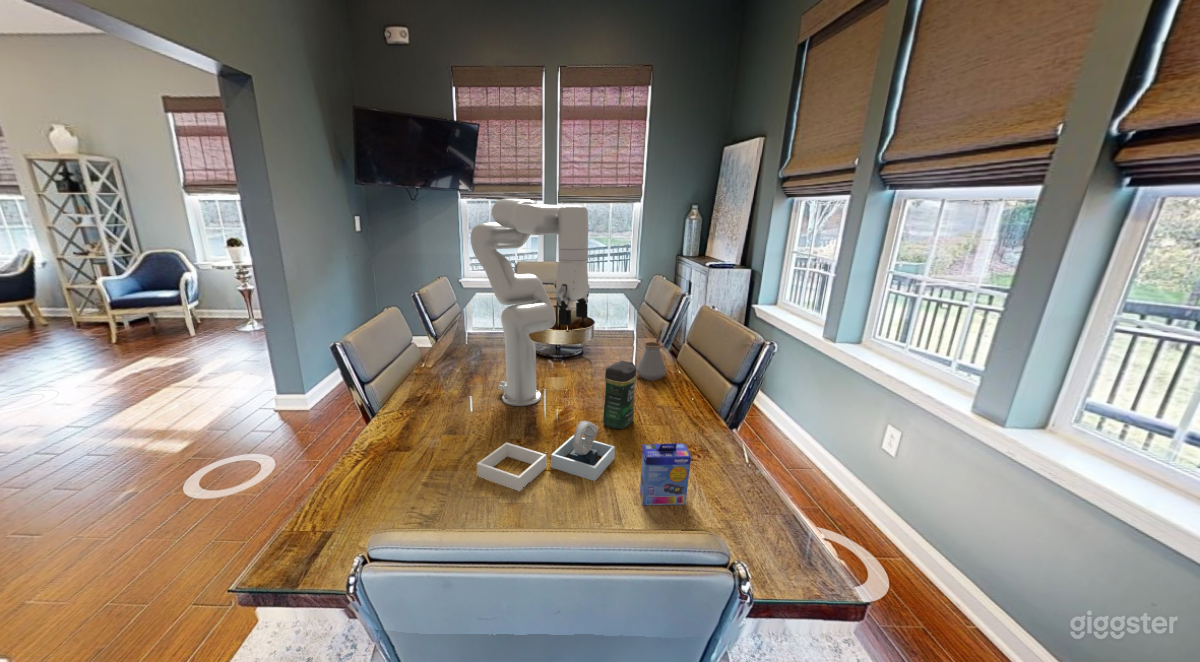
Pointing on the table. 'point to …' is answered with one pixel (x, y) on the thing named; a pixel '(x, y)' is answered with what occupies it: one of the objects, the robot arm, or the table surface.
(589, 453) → the watch
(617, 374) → the coffee jar
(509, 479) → the tray near
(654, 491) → the ink cartridge box
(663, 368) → the coffee pot
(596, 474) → the tray far
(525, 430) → the table surface
